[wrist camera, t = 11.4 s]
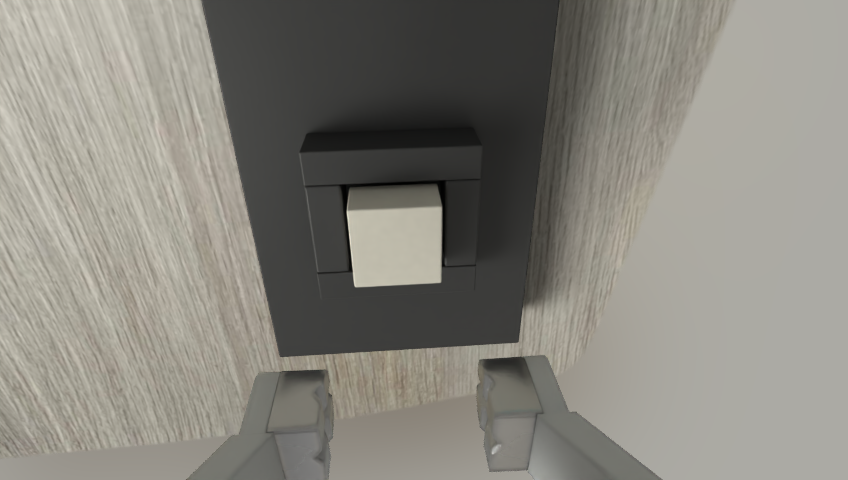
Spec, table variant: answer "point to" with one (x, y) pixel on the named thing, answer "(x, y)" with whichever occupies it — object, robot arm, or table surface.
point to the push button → (395, 234)
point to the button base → (387, 156)
